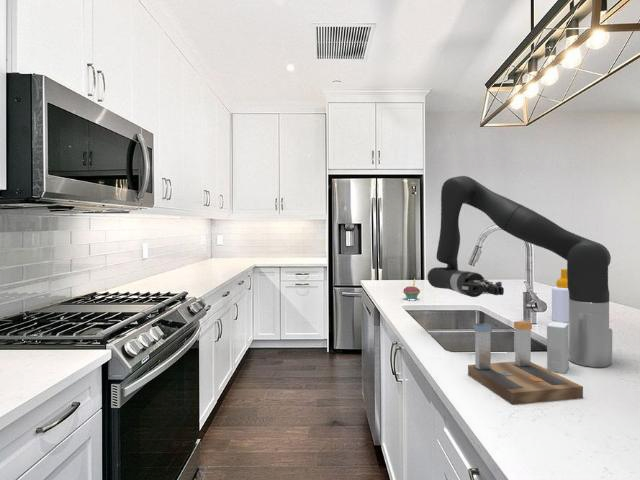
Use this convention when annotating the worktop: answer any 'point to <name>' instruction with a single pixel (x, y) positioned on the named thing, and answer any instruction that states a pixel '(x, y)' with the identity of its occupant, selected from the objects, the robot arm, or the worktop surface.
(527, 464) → the worktop surface
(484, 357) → the lever blue
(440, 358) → the worktop surface
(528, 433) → the worktop surface
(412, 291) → the cupcake
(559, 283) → the soap bottle
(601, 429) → the worktop surface
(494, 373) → the switch base
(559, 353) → the skincare box
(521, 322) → the lever orange
